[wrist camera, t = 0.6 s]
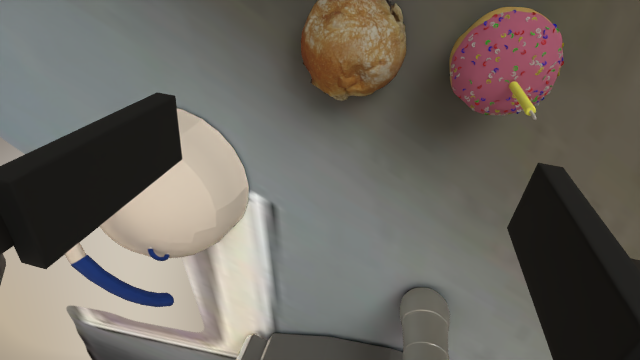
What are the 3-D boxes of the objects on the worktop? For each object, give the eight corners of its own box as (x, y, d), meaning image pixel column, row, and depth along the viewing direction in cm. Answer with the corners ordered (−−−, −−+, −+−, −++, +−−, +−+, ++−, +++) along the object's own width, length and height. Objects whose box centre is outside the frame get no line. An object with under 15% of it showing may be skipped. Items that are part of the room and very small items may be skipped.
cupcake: (557, 74, 33) (618, 120, 23) (464, 113, 37) (481, 168, 27) (528, -18, 30) (584, -11, 20) (430, 34, 34) (436, 62, 24)
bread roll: (414, 45, 38) (445, 28, 30) (351, 120, 39) (364, 123, 31) (344, -23, 36) (357, -60, 28) (279, 58, 37) (274, 44, 29)
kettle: (183, 72, 42) (50, 132, 26) (278, 210, 49) (216, 321, 34) (85, 140, 50) (-59, 214, 35) (178, 249, 57) (92, 350, 42)
